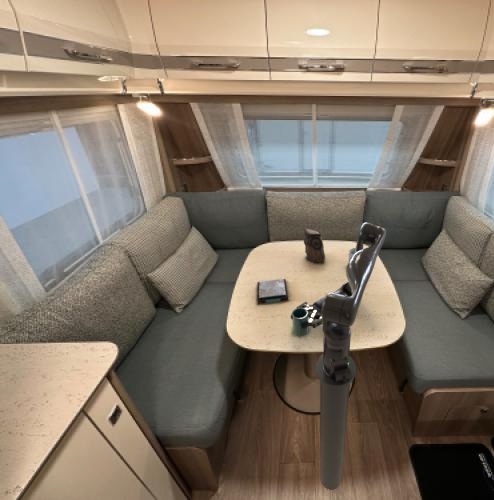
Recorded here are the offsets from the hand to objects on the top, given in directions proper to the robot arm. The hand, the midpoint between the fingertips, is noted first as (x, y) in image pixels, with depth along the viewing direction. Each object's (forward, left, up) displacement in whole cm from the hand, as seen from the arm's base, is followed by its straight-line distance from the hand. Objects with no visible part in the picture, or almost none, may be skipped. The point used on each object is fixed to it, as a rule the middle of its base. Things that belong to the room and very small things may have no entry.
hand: (296, 322), depth 112 cm
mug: (+41, -40, -6) cm, 58 cm away
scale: (+29, +9, -6) cm, 31 cm away
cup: (+1, -2, -6) cm, 6 cm away
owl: (+57, -20, -6) cm, 61 cm away
